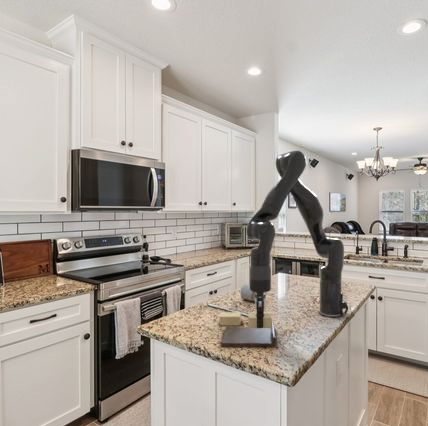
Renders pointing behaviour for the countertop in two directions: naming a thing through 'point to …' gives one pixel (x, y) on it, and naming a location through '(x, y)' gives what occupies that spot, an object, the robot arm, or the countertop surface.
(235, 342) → the board
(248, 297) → the ceramic mug
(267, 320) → the beige rectangular block
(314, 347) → the countertop surface
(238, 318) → the pad
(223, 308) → the butter knife
